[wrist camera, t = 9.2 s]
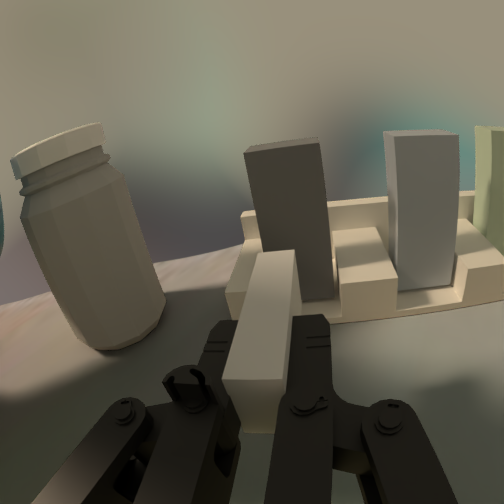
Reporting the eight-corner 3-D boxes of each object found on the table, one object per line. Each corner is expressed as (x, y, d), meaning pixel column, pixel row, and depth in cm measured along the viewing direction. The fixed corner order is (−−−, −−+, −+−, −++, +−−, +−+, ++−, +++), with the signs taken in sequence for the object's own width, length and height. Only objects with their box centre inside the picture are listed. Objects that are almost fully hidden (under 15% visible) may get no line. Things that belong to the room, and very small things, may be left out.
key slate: (450, 284, 22) (458, 134, 17) (395, 291, 23) (393, 136, 18) (438, 265, 25) (442, 129, 19) (387, 271, 26) (383, 131, 21)
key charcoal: (334, 297, 24) (319, 142, 19) (272, 302, 25) (243, 153, 20) (332, 277, 27) (317, 136, 22) (276, 282, 28) (250, 146, 23)
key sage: (519, 254, 22) (530, 133, 17) (482, 259, 24) (491, 130, 18) (506, 241, 25) (513, 127, 20) (470, 245, 26) (474, 125, 21)
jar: (64, 347, 26) (-15, 171, 18) (116, 292, 34) (62, 141, 26) (136, 365, 23) (42, 135, 15) (186, 295, 31) (132, 111, 23)
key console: (560, 286, 18) (575, 227, 15) (235, 329, 25) (216, 264, 22) (513, 237, 27) (519, 188, 24) (254, 264, 34) (243, 211, 31)
